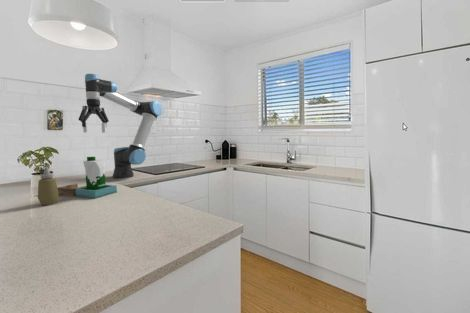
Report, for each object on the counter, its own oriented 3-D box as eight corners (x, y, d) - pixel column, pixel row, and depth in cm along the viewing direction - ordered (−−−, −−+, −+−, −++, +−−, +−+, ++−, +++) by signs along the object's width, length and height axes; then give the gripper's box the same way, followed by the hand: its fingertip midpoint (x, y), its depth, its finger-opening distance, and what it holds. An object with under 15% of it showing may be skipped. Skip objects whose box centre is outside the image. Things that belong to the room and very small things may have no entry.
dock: (76, 190, 143) (76, 183, 142) (92, 191, 139) (91, 184, 138) (57, 194, 132) (56, 187, 132) (73, 196, 128) (73, 189, 128)
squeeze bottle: (58, 200, 120) (55, 165, 119) (60, 203, 115) (58, 166, 113) (37, 203, 115) (34, 167, 113) (39, 207, 109) (36, 168, 107)
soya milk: (95, 190, 137) (93, 156, 135) (109, 191, 136) (107, 156, 134) (83, 194, 129) (80, 157, 127) (97, 194, 127) (95, 157, 125)
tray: (98, 190, 141) (97, 183, 141) (116, 192, 137) (116, 185, 136) (76, 196, 128) (75, 189, 128) (95, 198, 123) (95, 191, 123)
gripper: (104, 101, 164) (106, 132, 166) (69, 96, 141) (72, 132, 143) (113, 101, 162) (115, 132, 164) (79, 95, 139) (81, 132, 141)
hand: (95, 132), depth 153 cm, fingers open, 13 cm apart
